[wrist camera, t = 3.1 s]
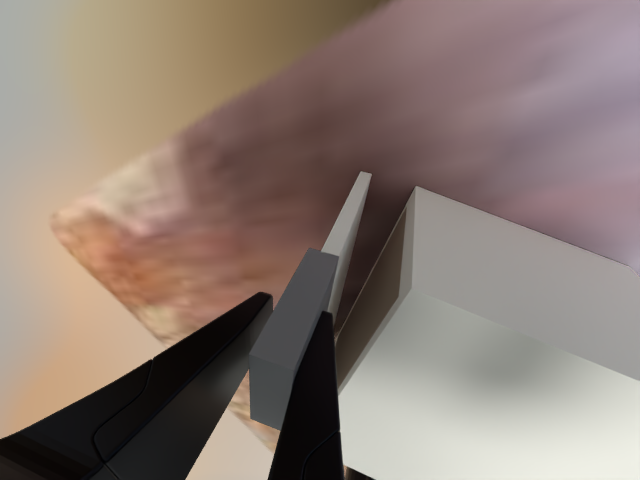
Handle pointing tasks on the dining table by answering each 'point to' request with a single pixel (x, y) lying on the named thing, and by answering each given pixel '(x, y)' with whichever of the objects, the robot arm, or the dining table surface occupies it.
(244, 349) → the robot arm
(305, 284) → the front flap
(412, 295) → the carton
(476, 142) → the dining table surface
